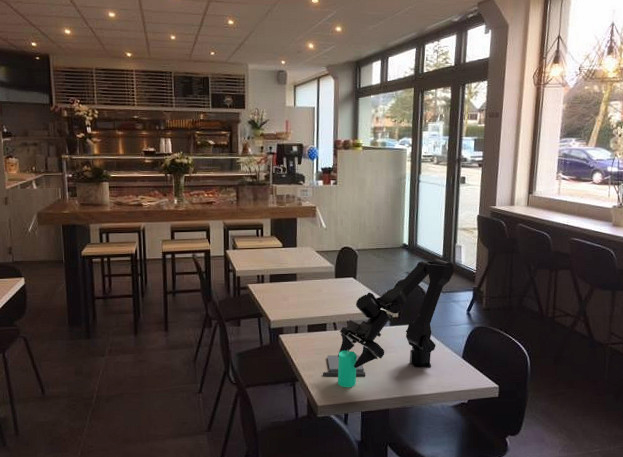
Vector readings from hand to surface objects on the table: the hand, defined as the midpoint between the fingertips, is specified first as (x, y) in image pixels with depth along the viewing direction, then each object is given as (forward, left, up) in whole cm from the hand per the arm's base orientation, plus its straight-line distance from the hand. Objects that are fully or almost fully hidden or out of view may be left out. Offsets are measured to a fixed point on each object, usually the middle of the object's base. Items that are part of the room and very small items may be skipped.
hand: (346, 362), depth 183 cm
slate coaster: (-1, -15, -8) cm, 17 cm away
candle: (0, 0, -8) cm, 8 cm away
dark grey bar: (0, -6, -8) cm, 10 cm away
